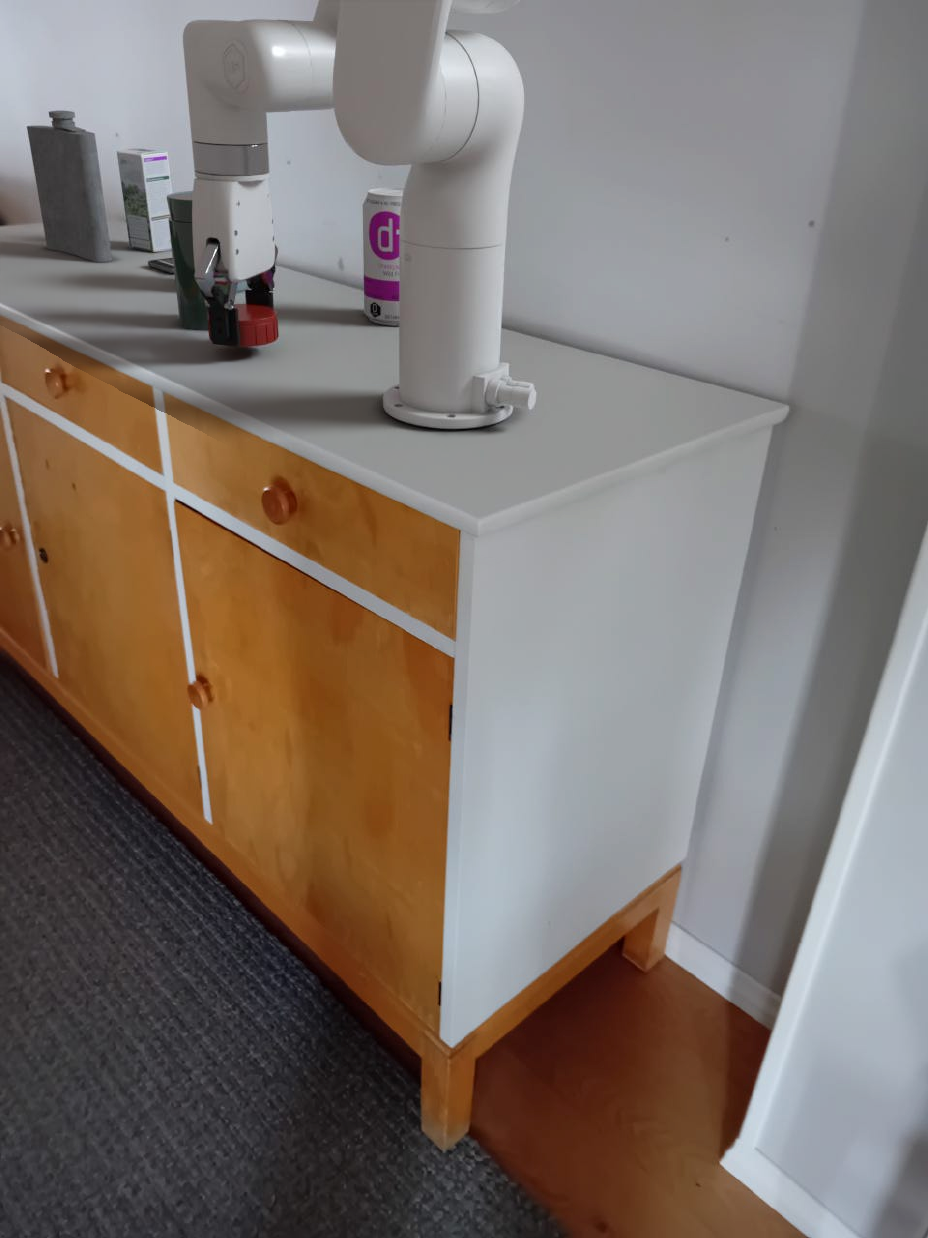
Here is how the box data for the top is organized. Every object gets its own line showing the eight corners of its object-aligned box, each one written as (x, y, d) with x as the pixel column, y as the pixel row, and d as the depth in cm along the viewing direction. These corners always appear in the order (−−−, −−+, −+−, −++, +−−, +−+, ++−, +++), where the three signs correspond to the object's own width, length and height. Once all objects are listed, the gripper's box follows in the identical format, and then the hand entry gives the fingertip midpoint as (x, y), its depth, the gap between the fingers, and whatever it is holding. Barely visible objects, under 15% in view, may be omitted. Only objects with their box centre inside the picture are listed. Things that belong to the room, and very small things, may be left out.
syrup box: (180, 247, 162) (170, 150, 155) (152, 252, 158) (140, 152, 151) (155, 243, 165) (144, 147, 158) (127, 248, 160) (114, 149, 153)
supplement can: (420, 329, 122) (422, 198, 115) (356, 323, 124) (353, 193, 116) (435, 314, 129) (438, 189, 122) (374, 309, 131) (373, 185, 123)
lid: (199, 344, 107) (196, 318, 106) (222, 326, 114) (220, 301, 112) (267, 349, 106) (265, 322, 105) (286, 331, 113) (285, 306, 112)
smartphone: (258, 257, 153) (170, 268, 144) (258, 262, 153) (171, 273, 144) (231, 250, 158) (145, 260, 148) (231, 254, 158) (146, 265, 149)
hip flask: (43, 247, 159) (19, 106, 149) (66, 244, 161) (44, 106, 151) (97, 262, 150) (76, 114, 140) (121, 259, 153) (102, 113, 142)
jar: (246, 321, 123) (236, 195, 116) (211, 332, 118) (199, 202, 110) (204, 313, 125) (192, 190, 118) (168, 324, 120) (153, 196, 113)
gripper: (239, 151, 109) (250, 314, 118) (151, 167, 95) (172, 351, 104) (301, 156, 107) (308, 321, 116) (222, 173, 93) (237, 360, 102)
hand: (244, 334), depth 110 cm, fingers closed on lid, 7 cm apart
